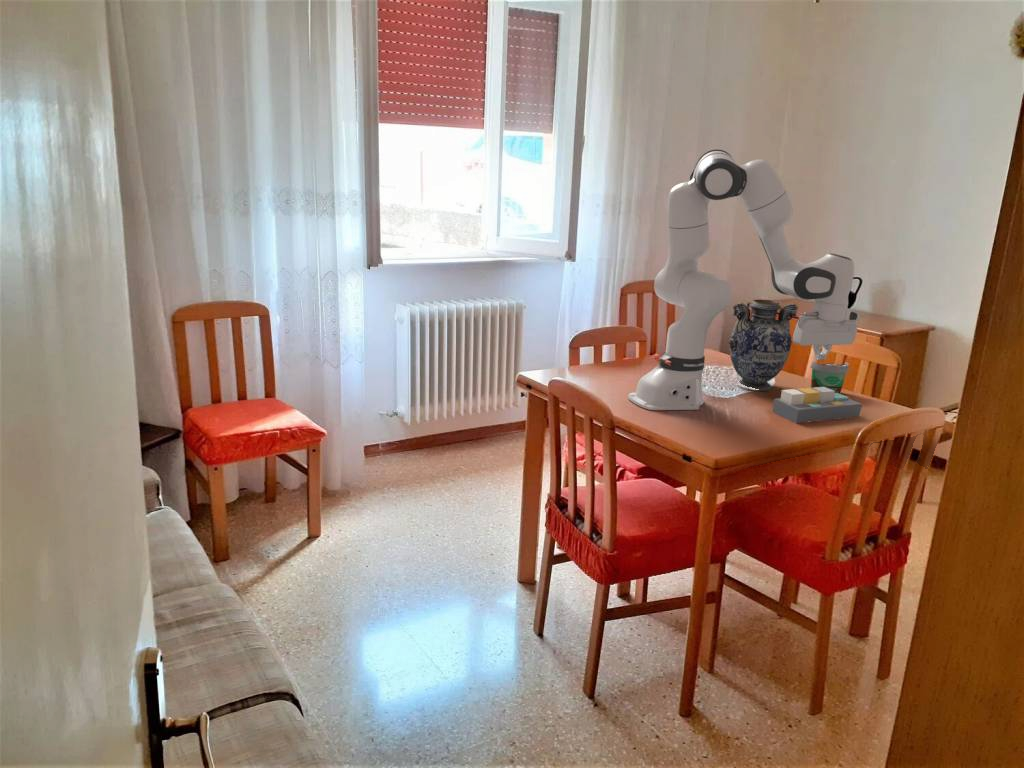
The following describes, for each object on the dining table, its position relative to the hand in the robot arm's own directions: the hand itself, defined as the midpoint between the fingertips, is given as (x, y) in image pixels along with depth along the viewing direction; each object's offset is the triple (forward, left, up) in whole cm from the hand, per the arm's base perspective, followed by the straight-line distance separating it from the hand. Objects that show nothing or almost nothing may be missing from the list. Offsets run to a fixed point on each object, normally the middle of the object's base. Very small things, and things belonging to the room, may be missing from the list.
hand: (819, 359), depth 215 cm
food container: (+19, +13, -16) cm, 28 cm away
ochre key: (-3, -1, -12) cm, 13 cm away
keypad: (0, -2, -16) cm, 16 cm away
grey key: (+3, -1, -12) cm, 13 cm away
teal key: (+8, -1, -15) cm, 17 cm away
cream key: (-8, -1, -12) cm, 15 cm away
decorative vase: (0, +26, -16) cm, 30 cm away
